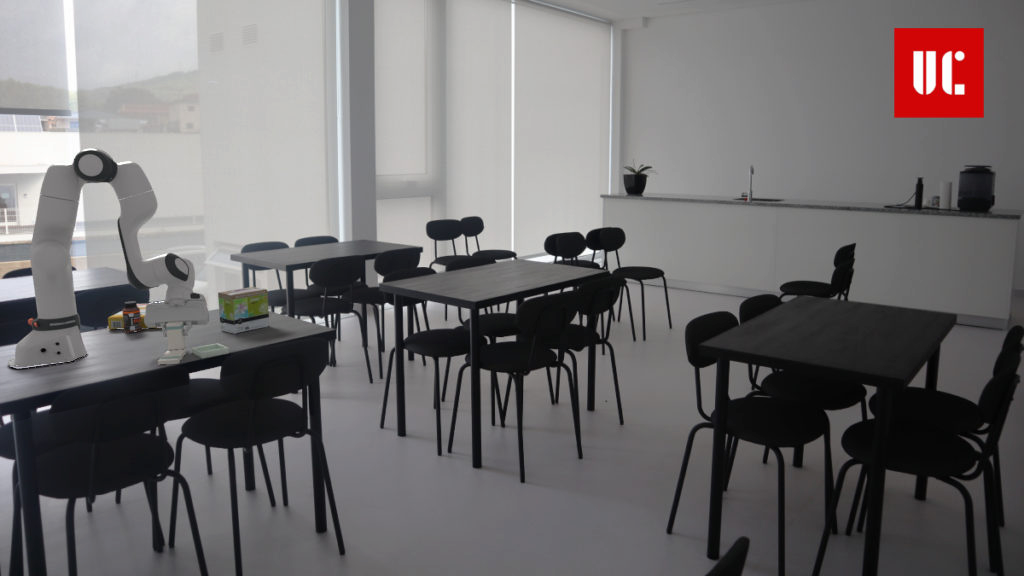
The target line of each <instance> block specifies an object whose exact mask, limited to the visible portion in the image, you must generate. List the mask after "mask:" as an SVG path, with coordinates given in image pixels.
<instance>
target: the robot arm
mask: <svg viewBox="0 0 1024 576" xmlns="http://www.w3.org/2000/svg"><path fill="white" fill-rule="evenodd" d="M149 180H150V179H148V177H147V175H146V173H145V172H144V169H143V168H142V167H141V166H140V164H139V163H137V162H133V161H124V162H115V160H114V159H113V157H112V156H111V155H110V154H108V153H107V152H106V151H104V150H102V149H99V148H93V147H92V148H85V149H82V150H81V151H79V152H78V153H77V154H76V155H75V157H74V159H73V162H72V163H63V162H61V163H55V164H51V165H50V166H49V167H48V168H47V169H46V172H45V175H44V178H43V180H42V184H41V188H40V192H39V199H38V205H37V211H36V217H35V223H34V227H33V232H32V239H31V244H30V248H29V249H30V250H29V260H30V267H31V274H32V275H31V276H32V281H33V289H34V295H35V296H34V297H35V303H36V305H35V306H36V310H37V311H36V312H37V317H36V318H35V319H34V318H32V317H31V318H29V319H28V320H27V323H28V325H30V326H31V327H32V330H31V331H29V333H28V334H27V335H26V336H25V337H23V338H22V339H20V341H19V342H18V343H17V344H16V347H15V349H14V350H15V351H14V357H12V358H11V359H9V360H8V361H7V365H8V364H9V365H11V366H14V367H27V366H34V365H41V364H51V363H59V362H68V361H73V360H75V359H76V358H79V357H82V356H84V355H86V354H87V352H88V351H87V349H86V347H85V344H84V340H83V338H82V334H81V327H82V326H81V318H80V315H79V313H78V311H77V304H76V294H75V287H74V277H73V276H74V275H73V267H72V257H71V254H70V251H71V245H72V240H73V236H74V233H75V232H74V231H75V229H76V222H77V217H78V210H79V205H80V204H79V203H80V200H81V199H80V198H81V193H82V192H81V191H82V189H83V187H84V185H85V184H99V183H101V184H102V183H104V184H105V183H107V184H109V185H110V186H111V187H112V189H113V190H114V192H115V195H116V197H117V198H116V199H118V202H119V205H120V215H119V217H118V218H117V230H118V235H119V240H120V243H121V248H122V253H123V256H124V261H125V267H126V268H125V269H126V277H127V281H128V283H129V285H131V286H132V287H133V288H135V289H136V290H139V291H142V292H145V291H148V290H151V289H153V288H155V287H158V286H162V285H166V286H167V288H166V290H165V291H166V292H165V297H164V298H165V299H164V301H157V302H156V301H151V302H150V303H147V304H148V305H147V306H146V310H145V311H146V314H145V318H144V322H145V325H146V326H147V327H161V328H162V329H161V330H162V335H163V337H164V338H166V337H167V330H166V324H167V323H169V322H183V324H184V327H185V326H186V327H185V328H184V329H182V331H183V332H182V335H183V336H184V337H187V336H189V332H190V330H191V329H192V328H193V326H202V325H207V324H209V323H210V311H209V309H208V304H207V300H206V297H205V295H204V294H202V293H197V292H194V287H195V282H196V273H195V272H196V271H195V266H194V264H193V262H192V261H191V260H189V259H188V258H185V257H180V256H179V255H177V254H175V253H173V252H168V253H167V252H166V253H163V254H160V255H157V256H154V257H151V258H146V259H143V257H142V253H141V248H140V244H139V240H138V233H139V230H140V229H141V228H142V227H143V225H145V224H147V222H149V221H150V220H151V219H152V218H153V217H154V216H155V214H156V212H157V210H158V207H159V206H158V199H157V196H156V194H155V192H154V190H153V187H152V185H151V183H150V181H149ZM87 355H88V354H87ZM87 355H86V356H87ZM84 357H85V356H84ZM82 358H83V357H82ZM79 359H80V358H79ZM12 360H14V361H12ZM75 361H76V360H75ZM16 365H18V366H16Z"/></svg>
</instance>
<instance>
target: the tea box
mask: <svg viewBox="0 0 1024 576" xmlns="http://www.w3.org/2000/svg"><path fill="white" fill-rule="evenodd" d="M268 293H269V292H268V289H266V288H261V287H256V286H249V287H243V288H238V289H231V290H226V291H225V290H224V291H220V292H218V294H217V297H218V298H217V299H218V313H219V314H218V315H219V325H220V326H219V327H220V331H222V332H226V333H229V334H230V333H231V334H233V335H234V334H235V335H236V334H239V333H243V332H246V331H253V330H257V329H261V328H262V329H264V328H268V326H269V327H270V314H269V313H270V312H269V297H268V295H269V294H268Z"/></svg>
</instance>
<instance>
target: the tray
mask: <svg viewBox="0 0 1024 576" xmlns="http://www.w3.org/2000/svg"><path fill="white" fill-rule="evenodd" d="M192 353H193V354H192ZM191 354H192V355H194V354H195V355H194V356H196V357H198V356H199V357H198V358H200V359H207V358H212V357H217V356H222V355H228V354H230V348H229V347H228V346H226V345H223V344H222V343H212V344H207V345H206V344H205V345H201V346H196V347H191Z"/></svg>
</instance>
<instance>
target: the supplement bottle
mask: <svg viewBox="0 0 1024 576" xmlns="http://www.w3.org/2000/svg"><path fill="white" fill-rule="evenodd" d="M137 304H138V303H137V301H135V300H133V301H125V302H124V308H122V310H121V311H122V312H123V322H124V329H123V330H124V332H125V331H126V332H134V331H140V330H141V331H142V330H143V329H142V325H141V316H140V308H139V307H137ZM141 331H140V332H141ZM126 332H125V333H126Z"/></svg>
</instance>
